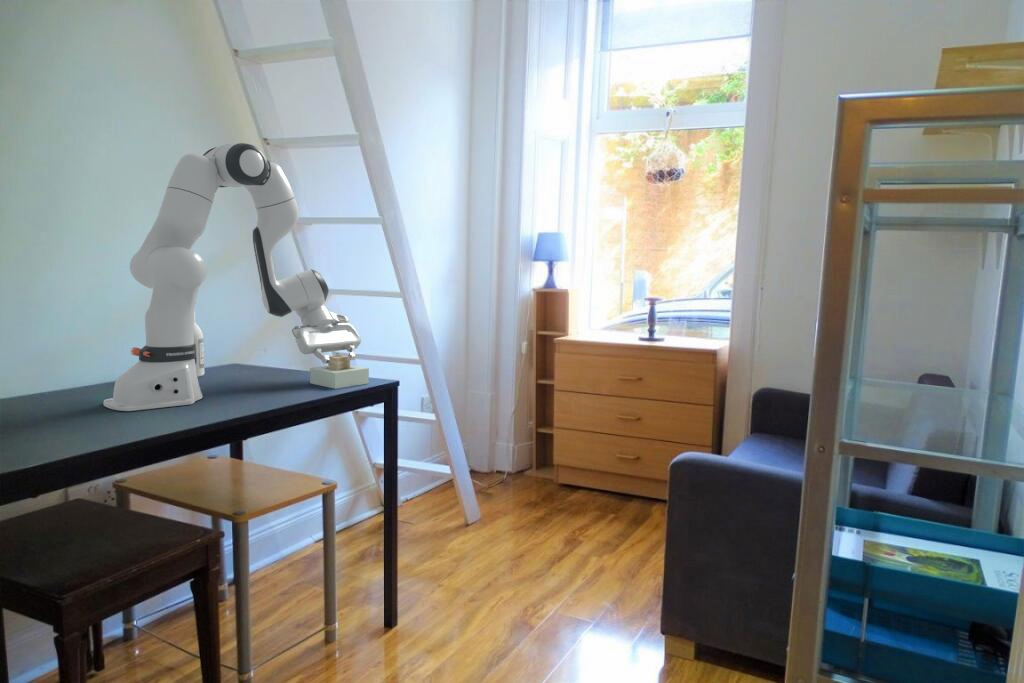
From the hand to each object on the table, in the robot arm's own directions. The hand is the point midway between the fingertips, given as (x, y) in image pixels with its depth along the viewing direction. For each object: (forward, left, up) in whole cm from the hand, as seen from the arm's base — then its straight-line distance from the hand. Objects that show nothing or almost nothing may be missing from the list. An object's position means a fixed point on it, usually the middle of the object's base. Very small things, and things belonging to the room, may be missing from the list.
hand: (340, 360), depth 207 cm
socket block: (0, +1, -7) cm, 7 cm away
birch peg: (0, +1, -7) cm, 7 cm away
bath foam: (-24, +42, -7) cm, 48 cm away
